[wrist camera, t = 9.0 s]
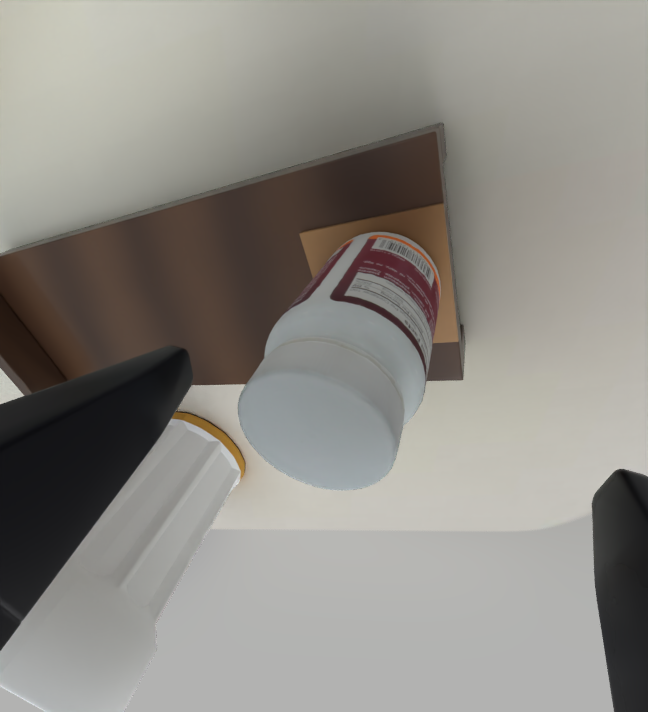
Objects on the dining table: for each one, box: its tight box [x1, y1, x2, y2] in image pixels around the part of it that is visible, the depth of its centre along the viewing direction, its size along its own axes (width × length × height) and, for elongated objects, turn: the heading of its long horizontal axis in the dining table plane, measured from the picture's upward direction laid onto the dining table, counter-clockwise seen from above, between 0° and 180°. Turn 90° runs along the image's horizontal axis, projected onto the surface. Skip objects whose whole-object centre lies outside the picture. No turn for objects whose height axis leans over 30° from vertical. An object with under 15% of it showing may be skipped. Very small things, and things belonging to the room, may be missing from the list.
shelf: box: [0, 123, 465, 396], centre depth 21 cm, size 29×10×5 cm, turn 107°
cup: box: [0, 412, 245, 712], centre depth 27 cm, size 11×11×17 cm
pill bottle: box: [238, 232, 441, 490], centre depth 12 cm, size 5×5×8 cm
